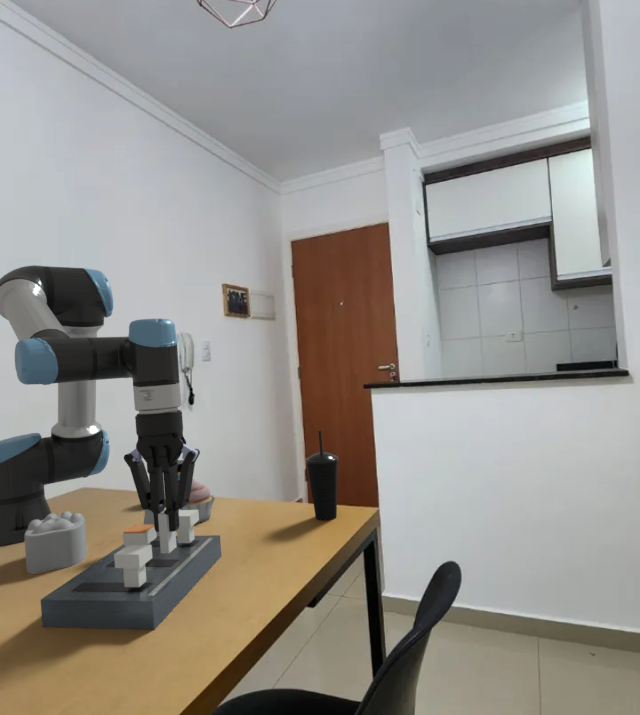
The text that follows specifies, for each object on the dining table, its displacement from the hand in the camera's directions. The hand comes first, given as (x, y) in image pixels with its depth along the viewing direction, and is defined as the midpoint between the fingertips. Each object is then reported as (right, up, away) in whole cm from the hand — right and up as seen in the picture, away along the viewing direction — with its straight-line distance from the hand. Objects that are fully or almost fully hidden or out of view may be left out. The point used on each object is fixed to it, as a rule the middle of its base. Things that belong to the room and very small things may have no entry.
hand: (168, 549), depth 81 cm
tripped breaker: (-5, -2, +1) cm, 5 cm away
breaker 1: (-2, -2, -8) cm, 9 cm away
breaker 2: (+1, -2, +8) cm, 9 cm away
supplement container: (-15, -8, +55) cm, 58 cm away
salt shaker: (-9, -7, +21) cm, 24 cm away
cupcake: (-4, -7, +35) cm, 36 cm away
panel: (-5, -7, +1) cm, 8 cm away
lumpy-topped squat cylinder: (-28, -9, +17) cm, 34 cm away
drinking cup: (+27, -5, +30) cm, 40 cm away
